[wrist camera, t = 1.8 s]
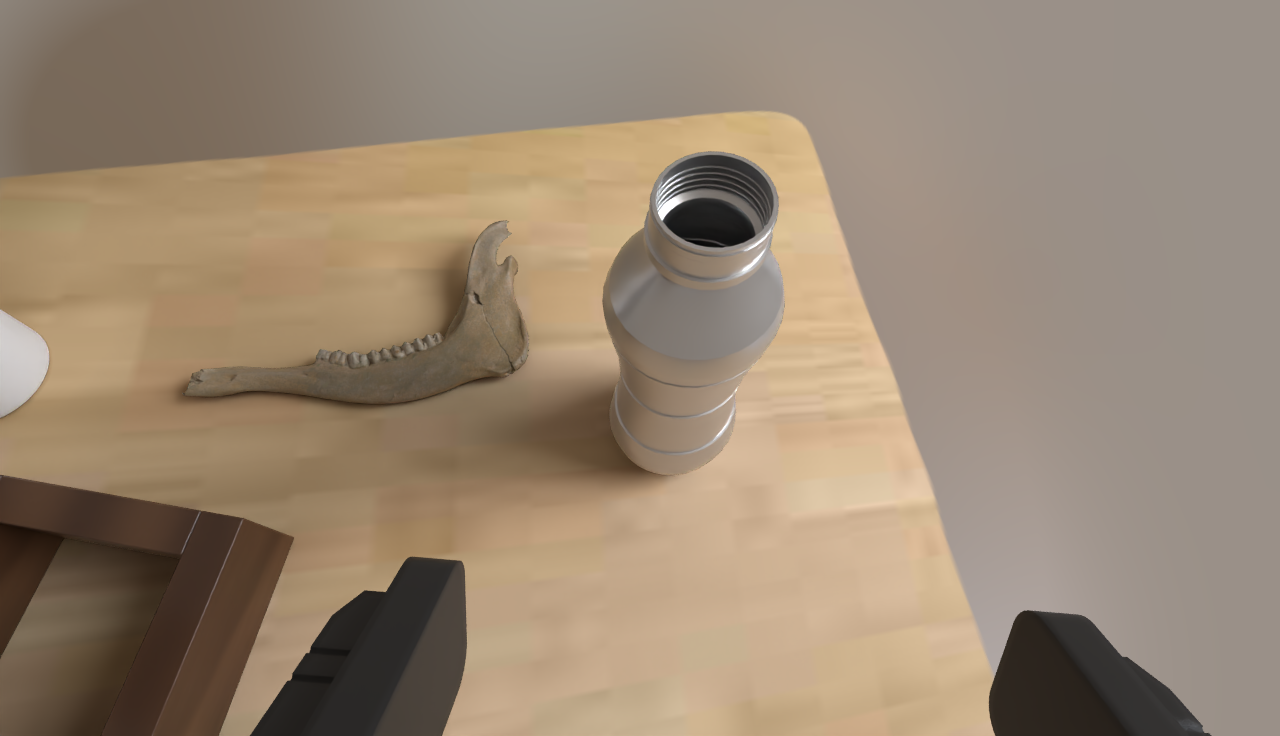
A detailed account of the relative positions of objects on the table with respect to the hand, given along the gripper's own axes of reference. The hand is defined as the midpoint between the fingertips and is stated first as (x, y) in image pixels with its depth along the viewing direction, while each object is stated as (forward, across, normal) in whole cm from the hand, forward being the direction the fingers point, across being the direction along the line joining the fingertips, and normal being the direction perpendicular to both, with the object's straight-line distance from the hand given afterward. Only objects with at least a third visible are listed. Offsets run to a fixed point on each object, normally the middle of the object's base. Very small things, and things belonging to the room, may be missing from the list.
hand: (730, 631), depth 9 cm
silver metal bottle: (+26, 0, +9) cm, 27 cm away
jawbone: (+30, +18, +5) cm, 35 cm away
